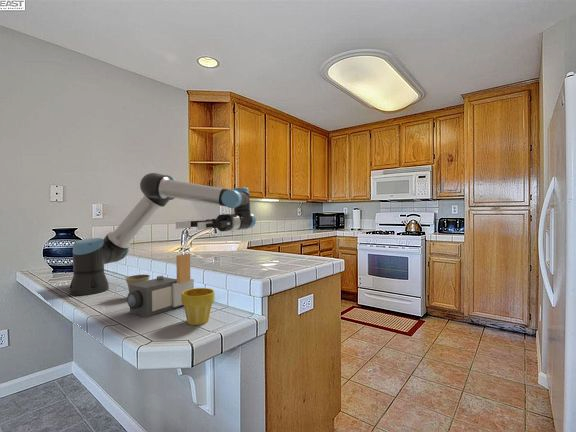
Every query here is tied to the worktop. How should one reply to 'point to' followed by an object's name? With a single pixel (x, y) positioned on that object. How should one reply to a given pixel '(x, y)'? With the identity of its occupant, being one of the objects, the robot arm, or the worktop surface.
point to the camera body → (151, 296)
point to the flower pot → (136, 279)
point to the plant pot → (197, 304)
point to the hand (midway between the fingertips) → (186, 225)
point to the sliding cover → (182, 278)
